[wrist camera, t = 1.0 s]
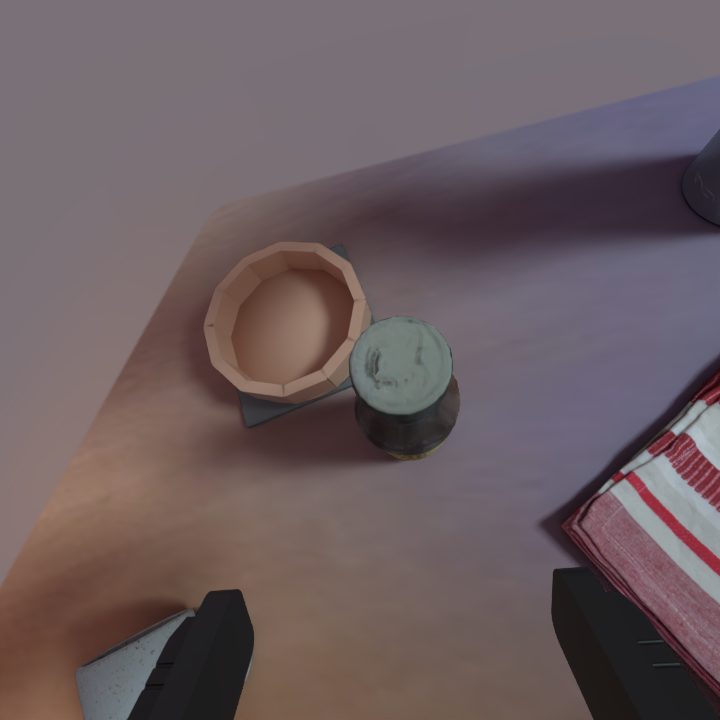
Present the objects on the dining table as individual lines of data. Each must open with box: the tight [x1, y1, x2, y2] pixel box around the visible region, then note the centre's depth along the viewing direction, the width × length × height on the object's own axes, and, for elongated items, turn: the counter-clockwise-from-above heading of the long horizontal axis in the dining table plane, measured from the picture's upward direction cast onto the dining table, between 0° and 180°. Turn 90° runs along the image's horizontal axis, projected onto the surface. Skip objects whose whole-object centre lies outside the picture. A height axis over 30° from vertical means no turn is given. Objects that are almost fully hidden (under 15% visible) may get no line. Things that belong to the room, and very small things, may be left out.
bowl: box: [203, 242, 371, 404], centre depth 35 cm, size 15×15×4 cm
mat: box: [237, 244, 375, 428], centre depth 37 cm, size 15×15×1 cm
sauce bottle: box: [349, 316, 460, 460], centre depth 23 cm, size 6×6×20 cm
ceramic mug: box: [75, 609, 253, 720], centre depth 27 cm, size 11×8×8 cm
